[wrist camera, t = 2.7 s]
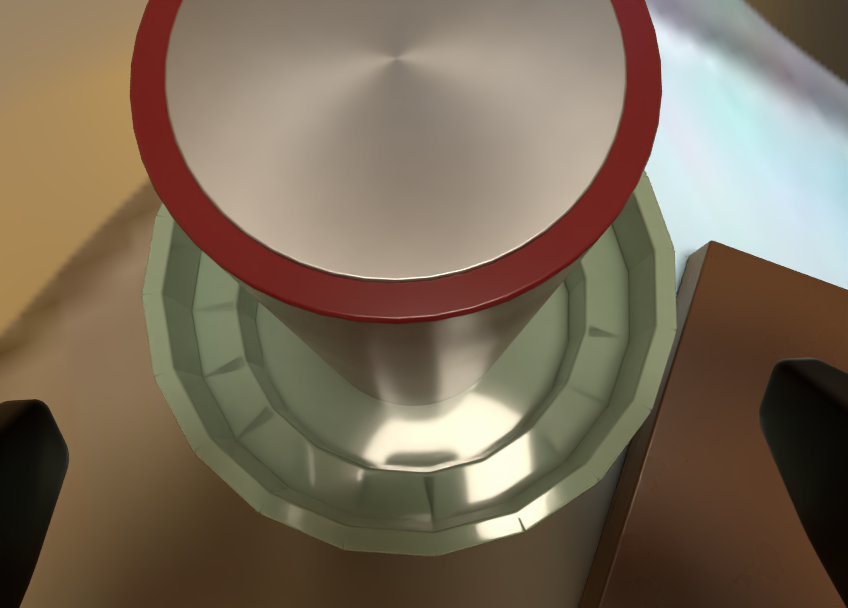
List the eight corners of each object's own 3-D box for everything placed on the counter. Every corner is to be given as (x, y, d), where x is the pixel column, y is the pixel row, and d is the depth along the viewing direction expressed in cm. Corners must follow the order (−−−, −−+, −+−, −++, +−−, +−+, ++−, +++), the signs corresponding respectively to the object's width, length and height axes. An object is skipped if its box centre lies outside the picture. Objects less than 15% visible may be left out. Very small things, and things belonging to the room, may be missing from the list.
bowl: (538, 599, 17) (577, 652, 13) (135, 427, 18) (44, 421, 14) (668, 206, 20) (737, 137, 15) (311, 77, 21) (281, -23, 16)
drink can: (469, 436, 17) (563, 412, 6) (284, 361, 18) (23, 197, 6) (536, 256, 19) (728, -67, 7) (362, 191, 19) (266, -214, 7)
